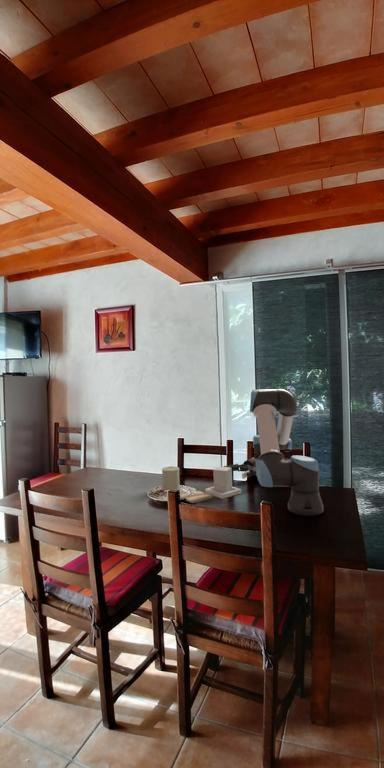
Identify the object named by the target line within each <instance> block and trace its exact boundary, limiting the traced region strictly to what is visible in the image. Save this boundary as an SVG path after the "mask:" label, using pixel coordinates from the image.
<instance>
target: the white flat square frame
mask: <svg viewBox="0 0 384 768" xmlns="http://www.w3.org/2000/svg"><path fill="white" fill-rule="evenodd" d="M204 493H206V494H209V495H212V497H217V498H219V499H222V500H223V499H226V498H230V497H233V496H237V495H240V494H242V488H238V487H235V486H233V485H232V491H229V492H226V493H220V492H217V491H214V486H211V487H207V488H204Z"/></svg>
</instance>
